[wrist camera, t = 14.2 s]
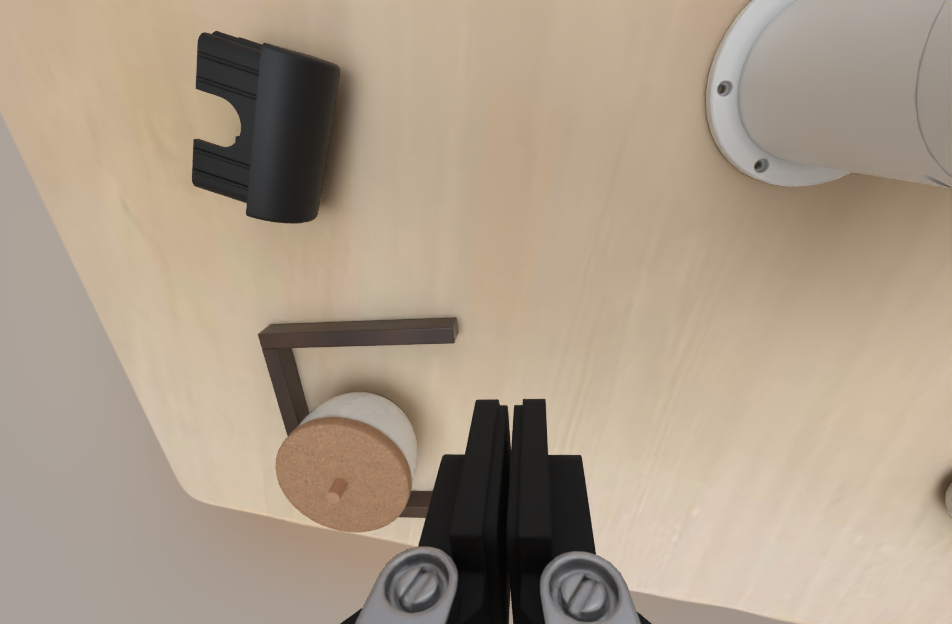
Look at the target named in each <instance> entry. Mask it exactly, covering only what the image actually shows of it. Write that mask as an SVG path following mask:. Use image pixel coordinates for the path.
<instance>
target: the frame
mask: <svg viewBox="0 0 952 624" xmlns="http://www.w3.org/2000/svg"><path fill="white" fill-rule="evenodd" d="M457 334H458V327H457V319H456V318H436V319H409V320H381V321H354V322H327V323H299V324H272V325H269V326H268V327H266V328H265V329H264V330H263V331H261V332H260V333H259V334H258V336H259V340H260V343H261V347H262V350H263V354H264V357H265V361H266V364H267V367H268V371H269V374H270V378H271V381H272V384H273V388H274V391H275V395H276V398H277V401H278V405H279V408H280V412H281V415H282V418H283V422H284V425H285V429H286V432H287V435H288V436H289V435H290V433H291V432H292V431H293V430H295V429H296V428H297V427H298V425H299V424H300V423H301V422H302V421H303V419H304V418H305V417H306V416H307V415H308V414H309V413H308V409H307V405H306V402H305V398H304V394H303V390H302V387H301V383H300V379H299V375H298V372H297V368H296V364H295V360H294V357H293V353H292V349H291V348H307V347H342V346H377V345H411V344H446V343H455V340H456V337H457ZM432 493H433V492H418V491H411V493H410V497H409V500H408V502H407V505H406V507H405V509H404V510H403V512H402V513H401V514H400V516H398V517H413V518H426V516H427V512H428V508H429V504H430V501H431V497H432Z"/></svg>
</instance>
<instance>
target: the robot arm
mask: <svg viewBox="0 0 952 624" xmlns="http://www.w3.org/2000/svg"><path fill="white" fill-rule="evenodd" d="M719 85H722V86H723V92H722V93H721V94H719V93H718V92H717V88H718V86H719ZM706 113H707V119H708V123H709V127H710V131H711V135H712V137H713V139H714V141H715V143H716V145H717V147H718V149H719V150H720V152H721V153H722V154H723V155H724V156H725V158H726V159H727V160H728V161H729V162H730V163H731V164H732V165H733V166H734V167H736V168H737V169H738V170H740V171H741V172H742V173H744V174H746V175H748V176H750V177H752V178H755V179H757V180H759V181H762V182H766V183H770V184H773V185H780V186H789V187H800V186H814V185H818V184H822V183H826V182H830V181H834V180H836V179H839V178H841V177H844V176H846V175H848V174H851V173H853V172H855V173H861V174H867V175H873V176H878V177H884V178H890V179H896V180H902V181H908V182H913V183H919V184H925V185H931V186H937V187H943V188H949V189H952V0H751V1H750V2H749V3H748V4H747V5H746V6H745V7H744V8H743V10H742V11H741V12H740V13H739V14H738V16H737V17H736V19H735V20H734V21H733V23H732V24H731V26H730V27H729V28H728V30H727V31H726V33H725V35H724V37H723V39H722V41H721V43H720V45H719V47H718V49H717V51H716V53H715V56H714V59H713V62H712V66H711V69H710V72H709V75H708V83H707V90H706ZM757 161H759V166H758V167H757V168H754V165H755V163H756V162H757ZM510 589H511V601H512V613H513V624H651V623H650V622H649V621H648V620H646V619H645V618H644V617H643V616H641V615H640V614H639V613H638V612H637V611H636V609H635V606H634V603H633V600H632V598H631V595H630V592H629V590H628V587H627V584H626V582H625V581H624V579H623V577H622V575H621V573H620V572H619V571H618V570H617V569H616V568H615V567H614V566H613V565H612V564H611V563H610V562H609V561H607V560H605V559H604V558H602V557H600V556H598V555H596V552H595V545H594V538H593V531H592V524H591V517H590V510H589V503H588V497H587V490H586V483H585V476H584V469H583V462H582V457H581V455H548V444H547V422H546V401H545V399H523V405H514V416H513V432H512V448H511V443H510V430H509V416H508V406H507V405H500V404H499V400H498V399H496V400H476V402H475V407H474V412H473V417H472V422H471V427H470V432H469V437H468V442H467V447H466V452H465V455H451V454H444V456H443V457H442V460H441V463H440V467H439V470H438V474H437V478H436V482H435V486H434V489H433V493H432V497H431V501H430V504H429V508H428V512H427V516H426V519H425V523H424V527H423V531H422V534H421V538H420V542H419V546H418V547H415V548H410V549H407V550H405V551H403V552H401V553H399V554H397V555H396V556H395V557H393V558H392V559H391V560H390V561H389V562H388V563H387V564H386V565H385V567H384V568H383V570H382V571H381V572H380V574H379V576H378V578H377V580H376V582H375V584H374V586H373V588H372V590H371V592H370V594H369V596H368V598H367V600H366V602H365V604H364V606H363V608H362V609H360V610H359V611H357V612H356V613H355V614H353V615H352V616H350V617H349V618H348V619H346V620H345V621H343V622H342V623H341V624H509V606H510Z"/></svg>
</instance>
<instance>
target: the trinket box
mask: <svg viewBox="0 0 952 624" xmlns="http://www.w3.org/2000/svg"><path fill="white" fill-rule="evenodd" d="M416 464H417V441H416V436H415V432H414V430H413V427H412V425H411V423H410V421H409V420H408V418H407V416H406V415H405V414H404V412H403V411H402V410H401V409H400V408H399V407H398V406H397V405H395V404H394V403H393V402H391V401H390V400H388V399H386V398H385V397H382V396H379V395H376V394H372V393H366V392H351V393H345V394H341V395H338V396H335V397H333V398H331V399H329V400H327V401H325V402H323V403H322V404H320V405H319V406H318V407H316V408H315V409H314V410H313V411H312V412H310V413H309V414H308V415H307V416H306V417H305V418H304V419H303V421H302V422H301V423H300V424H299V425H298V427H297V428H296V429H295V430H293V431H292V432H291V433H290V435H289V436H288V437H287V438H286V439H285V441H284V442H283V443H282V445H281V447H280V449H279V451H278V454H277V458H276V474H277V479H278V482H279V485H280V487H281V489H282V491H283V493H284V494H285V496H286V497H287V499H288V500H289V501H290V502H291V503H292V505H293V506H294V507H295V508H296V509H298V510H299V511H300V512H301V513H302V514H303V515H305V516H307V517H308V518H310V519H311V520H313V521H315V522H317V523H319V524H321V525H323V526H326V527H329V528H332V529H336V530H339V531H346V532H366V531H372V530H376V529H379V528H381V527H384V526H386V525H388V524H389V523H391V522H393V521H394V520H395V519H396V518H397V517H398V516H400V514H401V513H402V512H403V510H404V509H405V507H406V505H407V502H408V500H409V497H410V493H411V488H412V483H413V479H414V475H415V470H416Z"/></svg>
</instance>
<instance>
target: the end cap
mask: <svg viewBox="0 0 952 624" xmlns="http://www.w3.org/2000/svg"><path fill="white" fill-rule="evenodd" d="M339 76H340V68H339V67H338V66H337V65H335V64H333V63H330V62H327V61H325V60H322V59H319V58H316V57H313V56H310V55H306V54H303V53H299V52H296V51H292V50H288V49H285V48H281V47H278V46H274V45H270V44H267V43H263V44H262V45H261V44H258V43H255V42H252V41H249V40H246V39H243V38H240V37H239V38H236V37H233V36H230V35H227V34H224V33H221V32H218V31H215V32H213V33H212V34H210V33H202V34H201V35H200V36H199V39H198V49H197V73H196V89H198V90H201V91H204V92H207V93H210V94H213V95H216V96H219V97H222V98H224V99H226V100H227V101H228V102H230V103H231V104H232V105H233V107H234V108H235V109H236V111H237V113H238V115H239V118H240V122H241V133H240V136H236V143H235V144H233V145H232V146H230V147H222V146H219V145H216V144H213V143H210V142H207V141H203V140H200V139H194V144H193V168H192V182H193V184H194V186H196V187H199V188H202V189H205V190H208V191H211V192H214V193H217V194H220V195H223V196H227V197H230V198H233V199H236V200H239V201H242V202H245V203H247V208H246V215H247V216H249V217H253V218H256V219H261V220H265V221H271V222H278V223H304V222H309V221H312V220H313V219H315V218H316V217H317V215H318V210H319V203H320V197H321V191H322V184H323V178H324V172H325V165H326V159H327V153H328V146H329V140H330V134H331V127H332V121H333V115H334V108H335V102H336V95H337V89H338V83H339Z"/></svg>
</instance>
